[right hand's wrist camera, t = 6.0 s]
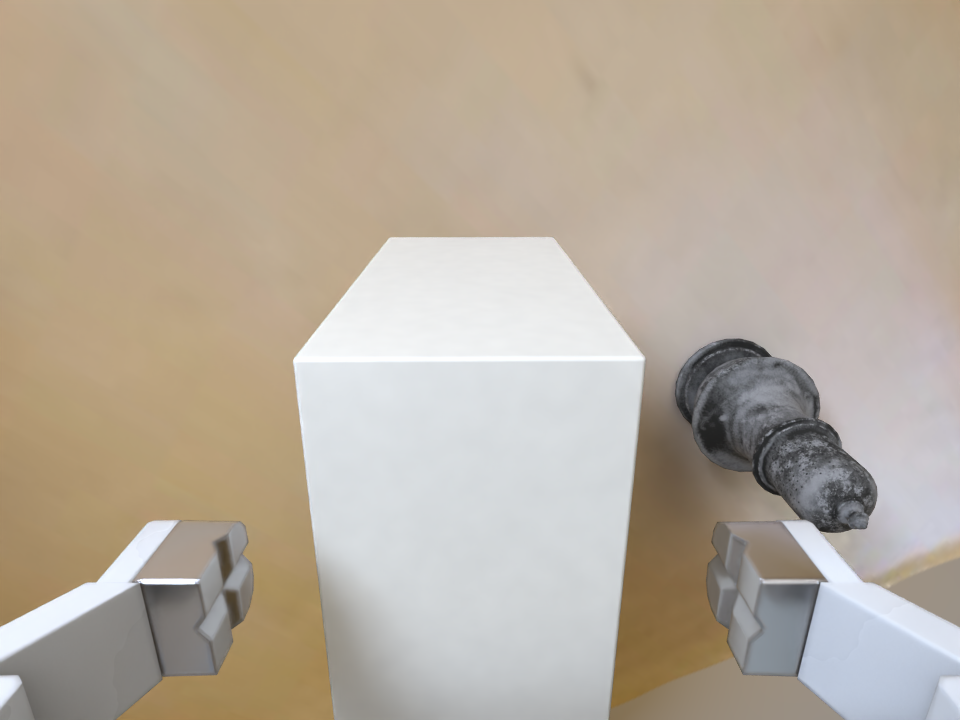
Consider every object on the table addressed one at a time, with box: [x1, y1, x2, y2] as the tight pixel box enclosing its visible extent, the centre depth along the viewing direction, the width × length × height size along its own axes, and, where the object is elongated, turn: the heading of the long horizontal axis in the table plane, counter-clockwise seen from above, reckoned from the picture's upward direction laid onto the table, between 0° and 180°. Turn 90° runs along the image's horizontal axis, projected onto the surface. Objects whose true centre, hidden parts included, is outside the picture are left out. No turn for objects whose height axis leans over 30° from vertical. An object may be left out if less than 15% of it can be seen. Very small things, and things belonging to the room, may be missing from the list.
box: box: [293, 237, 646, 720], centre depth 21 cm, size 25×6×12 cm, turn 0°
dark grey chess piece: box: [675, 339, 877, 533], centre depth 26 cm, size 6×6×12 cm
